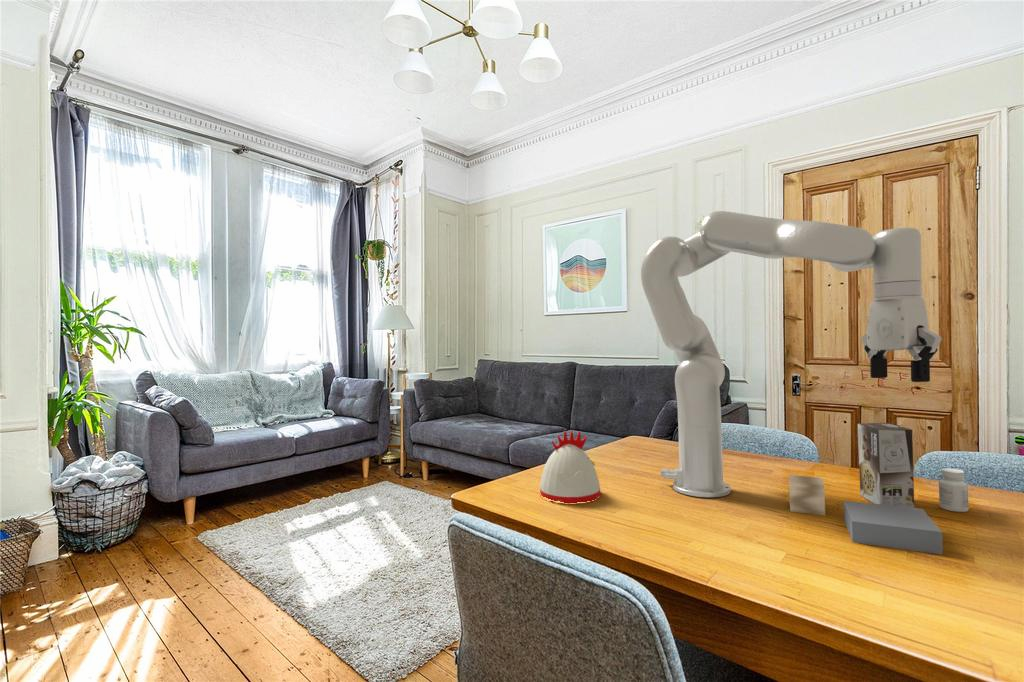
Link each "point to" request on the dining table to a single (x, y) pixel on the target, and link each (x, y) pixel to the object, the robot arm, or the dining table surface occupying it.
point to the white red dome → (570, 473)
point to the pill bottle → (953, 491)
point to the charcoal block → (892, 527)
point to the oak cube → (806, 494)
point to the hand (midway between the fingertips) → (898, 379)
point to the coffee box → (886, 464)
